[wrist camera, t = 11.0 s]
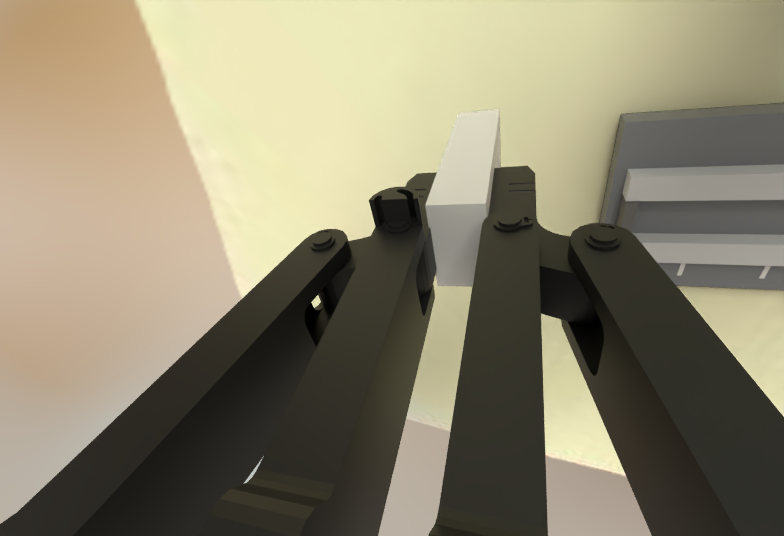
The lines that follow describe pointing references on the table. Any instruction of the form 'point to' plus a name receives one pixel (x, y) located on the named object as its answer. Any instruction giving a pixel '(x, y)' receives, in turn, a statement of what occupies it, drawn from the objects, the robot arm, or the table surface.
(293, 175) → the table surface
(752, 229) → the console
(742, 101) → the table surface
